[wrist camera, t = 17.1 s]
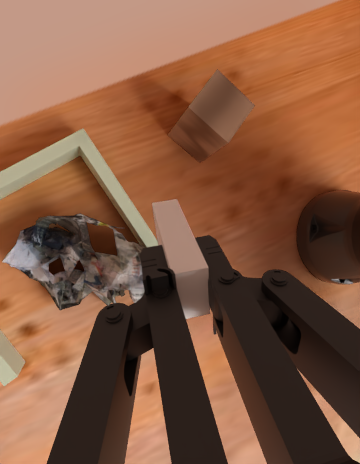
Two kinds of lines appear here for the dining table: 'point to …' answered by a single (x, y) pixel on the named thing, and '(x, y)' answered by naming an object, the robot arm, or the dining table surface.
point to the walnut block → (211, 118)
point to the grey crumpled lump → (71, 250)
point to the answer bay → (43, 162)
